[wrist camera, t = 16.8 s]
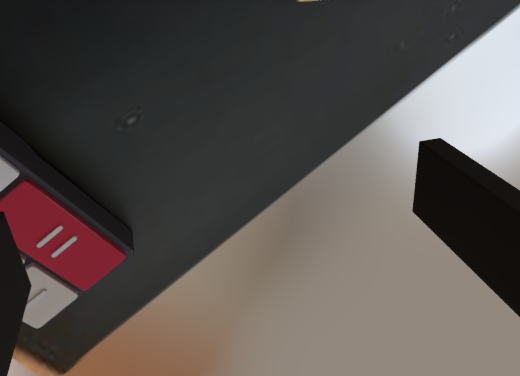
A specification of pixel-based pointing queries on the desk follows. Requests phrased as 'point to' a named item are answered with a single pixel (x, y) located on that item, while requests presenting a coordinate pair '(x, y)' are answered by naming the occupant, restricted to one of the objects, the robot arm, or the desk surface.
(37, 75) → the desk surface
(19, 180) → the calculator
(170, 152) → the desk surface
